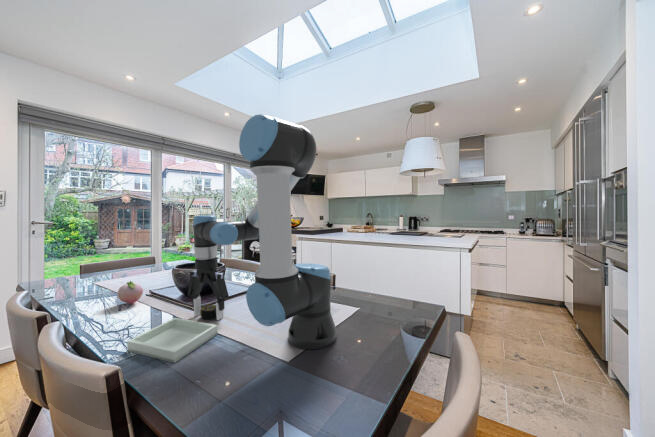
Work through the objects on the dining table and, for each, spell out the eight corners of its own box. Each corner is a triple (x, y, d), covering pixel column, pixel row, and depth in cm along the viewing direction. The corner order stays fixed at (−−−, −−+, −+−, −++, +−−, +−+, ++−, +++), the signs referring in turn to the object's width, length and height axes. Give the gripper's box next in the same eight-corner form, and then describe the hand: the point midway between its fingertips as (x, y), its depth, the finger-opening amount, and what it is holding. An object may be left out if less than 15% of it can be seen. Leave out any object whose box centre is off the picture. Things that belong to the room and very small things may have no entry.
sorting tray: (217, 334, 86) (217, 325, 85) (174, 362, 70) (174, 352, 70) (175, 326, 91) (175, 317, 91) (127, 351, 76) (127, 341, 76)
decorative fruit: (114, 305, 110) (113, 281, 110) (137, 298, 117) (136, 276, 116) (123, 310, 105) (121, 285, 104) (146, 303, 112) (145, 280, 111)
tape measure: (219, 319, 96) (219, 309, 96) (198, 322, 94) (198, 312, 94) (221, 312, 103) (220, 302, 102) (201, 314, 100) (201, 305, 100)
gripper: (238, 257, 96) (240, 316, 98) (190, 253, 103) (193, 308, 105) (224, 261, 89) (226, 325, 91) (174, 257, 96) (177, 316, 98)
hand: (208, 316), depth 98 cm, fingers open, 10 cm apart
